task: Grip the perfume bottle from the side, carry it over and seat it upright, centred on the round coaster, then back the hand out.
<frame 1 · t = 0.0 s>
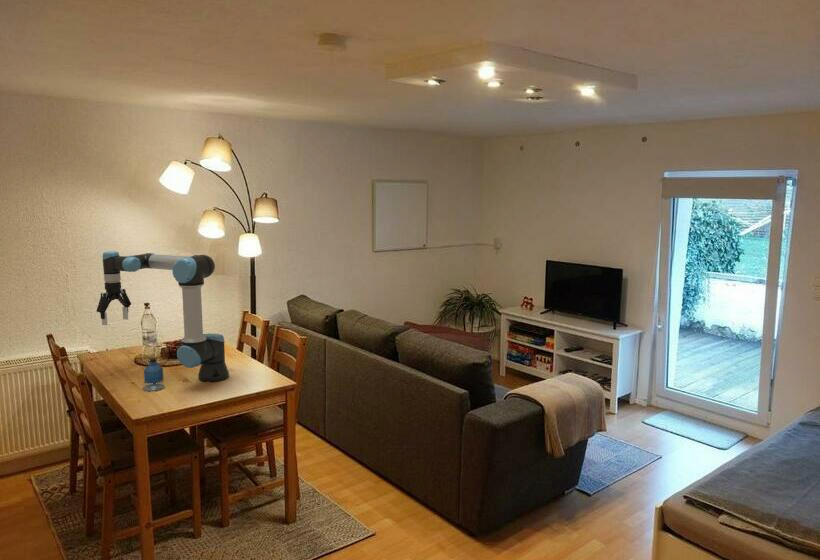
hand: (115, 322, 304), 28 cm above the table, tool pointing down, fingers open, 13 cm apart
coaster: (153, 388, 288), on the table
perfume bottle: (154, 382, 298), on the table
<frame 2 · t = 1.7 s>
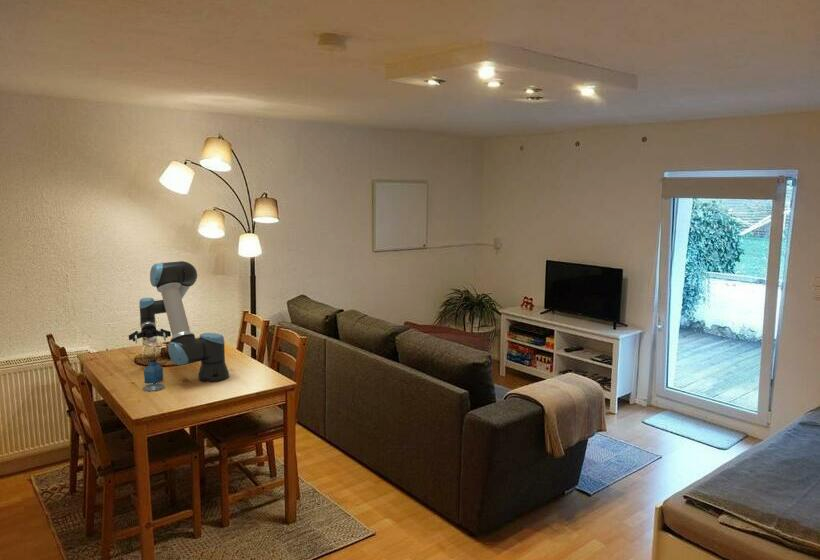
hand: (150, 339, 303), 20 cm above the table, tool horizontal, fingers open, 13 cm apart
nothing on the table moved.
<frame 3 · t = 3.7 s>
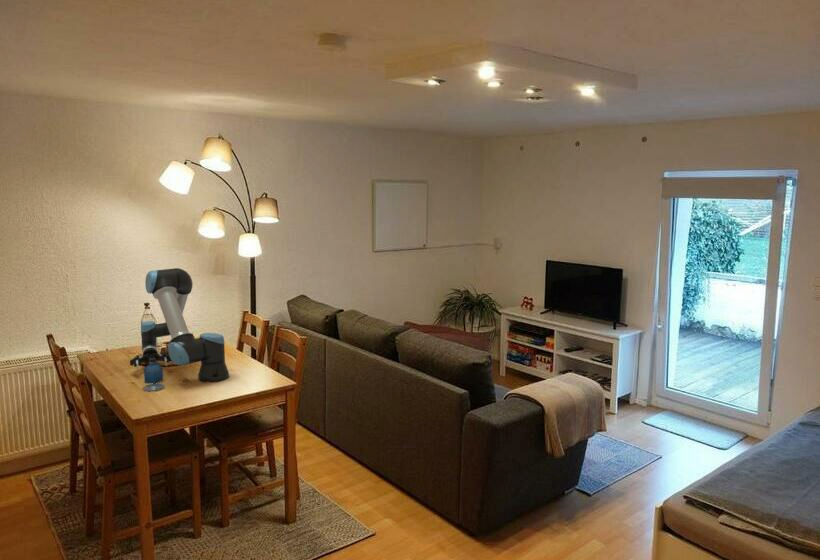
hand: (152, 364, 303), 7 cm above the table, tool horizontal, fingers open, 13 cm apart
nothing on the table moved.
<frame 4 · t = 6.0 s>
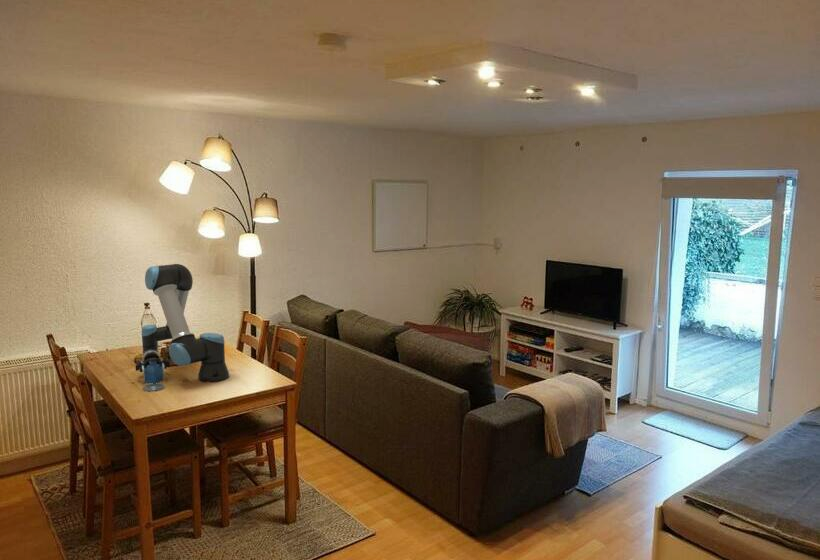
hand: (153, 370, 293), 7 cm above the table, tool horizontal, fingers closed on perfume bottle, 9 cm apart
perfume bottle: (154, 381, 298), on the table, touching gripper
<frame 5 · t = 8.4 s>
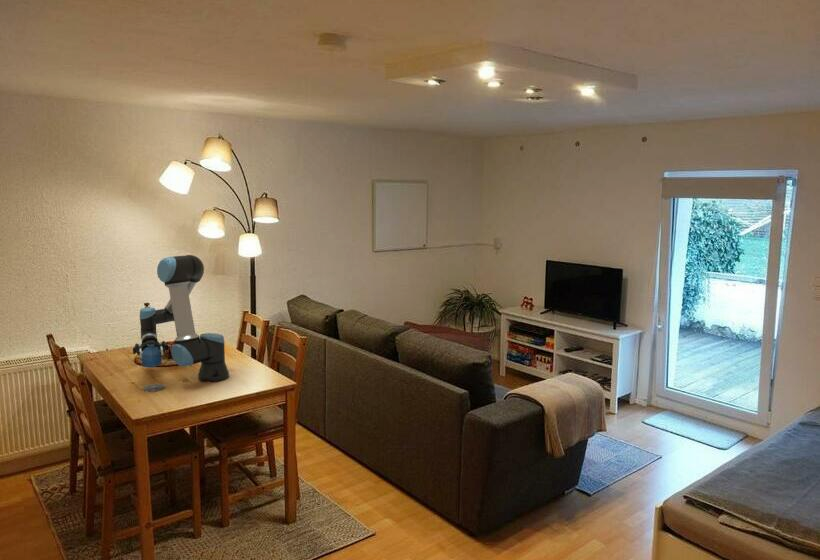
hand: (151, 353, 281), 19 cm above the table, tool horizontal, fingers closed on perfume bottle, 9 cm apart
perfume bottle: (152, 365, 287), point 12 cm above the table, touching gripper
when the fingers open (9 cm above the table, at t = 10.7 s): perfume bottle drops 1 cm, resting on coaster.
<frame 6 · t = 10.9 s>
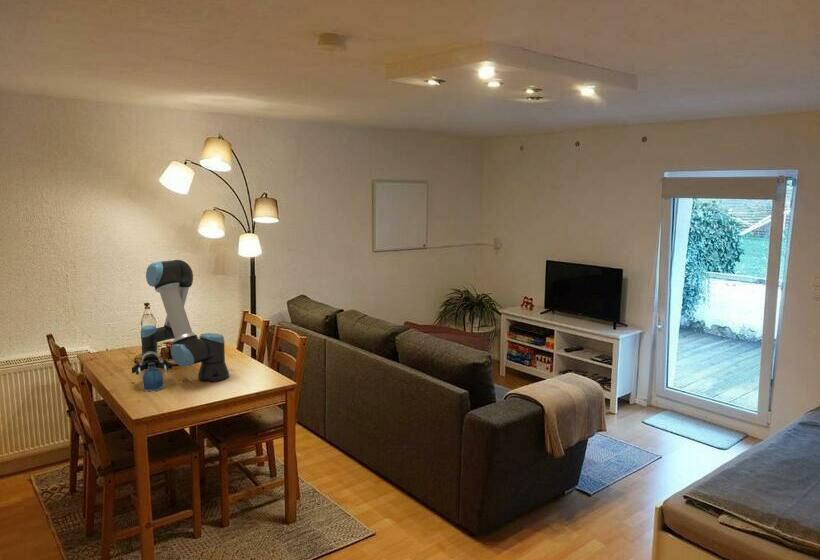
hand: (152, 372, 283), 9 cm above the table, tool horizontal, fingers open, 11 cm apart
perfume bottle: (153, 387, 288), point 1 cm above the table, touching coaster
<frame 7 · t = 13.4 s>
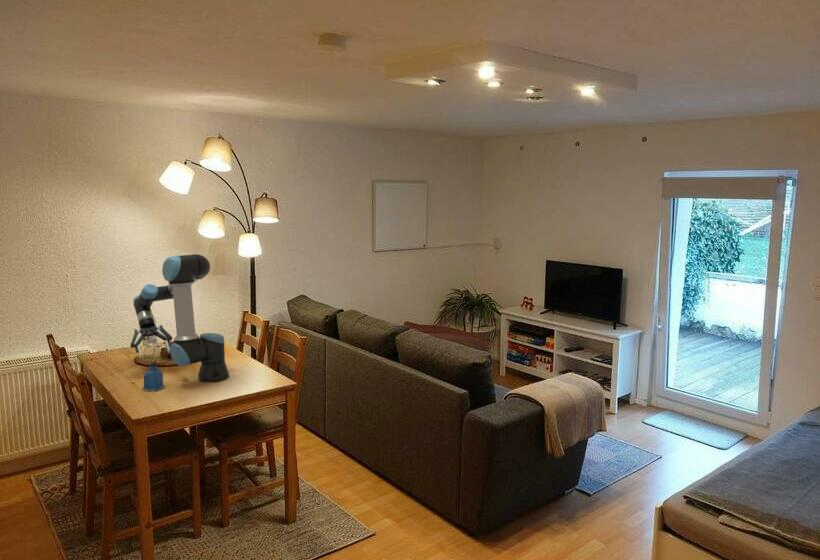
hand: (155, 354, 303), 12 cm above the table, tool tilted 45°, fingers open, 13 cm apart
nothing on the table moved.
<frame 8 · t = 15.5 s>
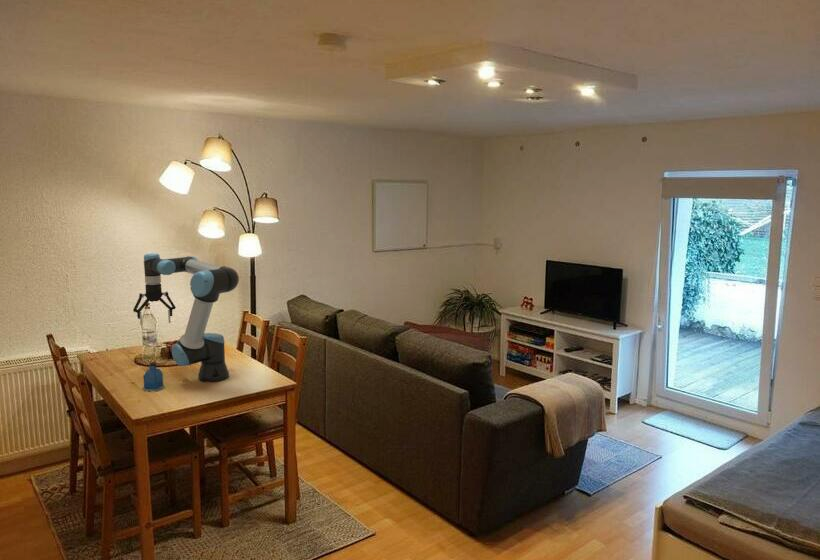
hand: (155, 323, 307), 27 cm above the table, tool pointing down, fingers open, 13 cm apart
nothing on the table moved.
at the end: perfume bottle 0.1 cm from the coaster (horizontally); perfume bottle tilted 2°; perfume bottle point 0.5 cm above the table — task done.
